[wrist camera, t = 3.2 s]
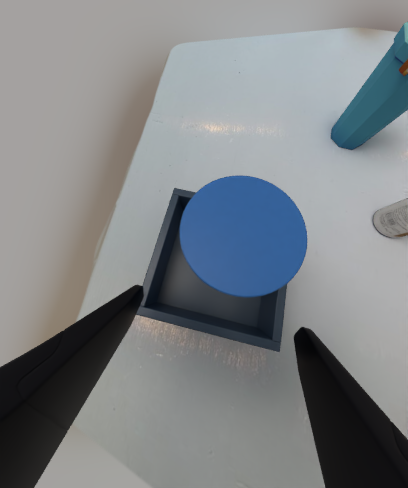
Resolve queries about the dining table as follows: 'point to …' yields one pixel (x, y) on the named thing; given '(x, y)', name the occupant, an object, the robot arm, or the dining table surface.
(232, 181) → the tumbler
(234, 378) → the dining table surface
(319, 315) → the dining table surface
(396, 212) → the pill bottle
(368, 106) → the cup
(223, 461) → the dining table surface
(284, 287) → the tray
